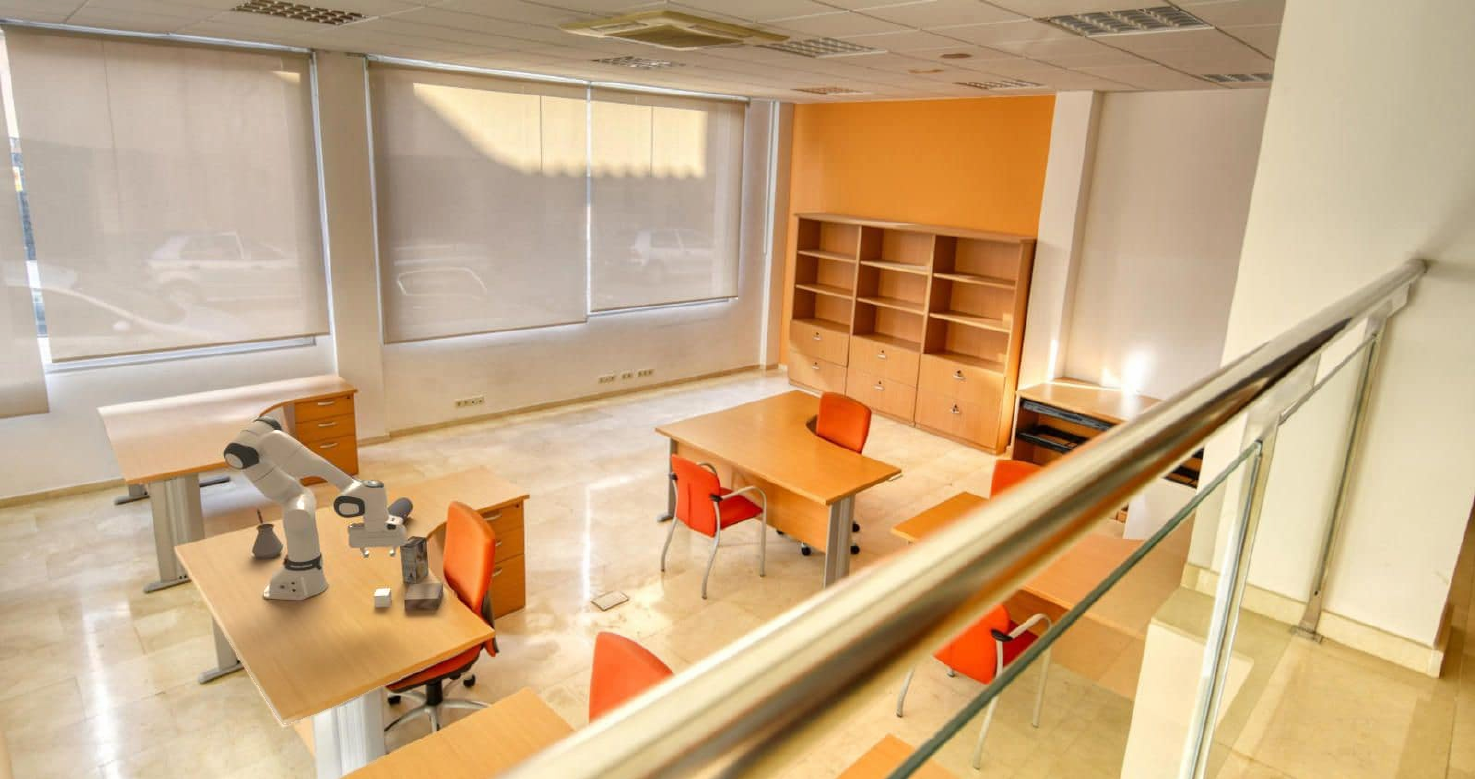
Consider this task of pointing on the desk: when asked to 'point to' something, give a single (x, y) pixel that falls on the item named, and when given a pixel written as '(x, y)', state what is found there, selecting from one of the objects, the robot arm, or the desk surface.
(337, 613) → the desk surface
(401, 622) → the desk surface
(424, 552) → the coffee box
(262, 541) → the coffee pot
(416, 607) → the walnut block
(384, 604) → the white cube
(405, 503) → the bluetooth speaker
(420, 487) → the desk surface
